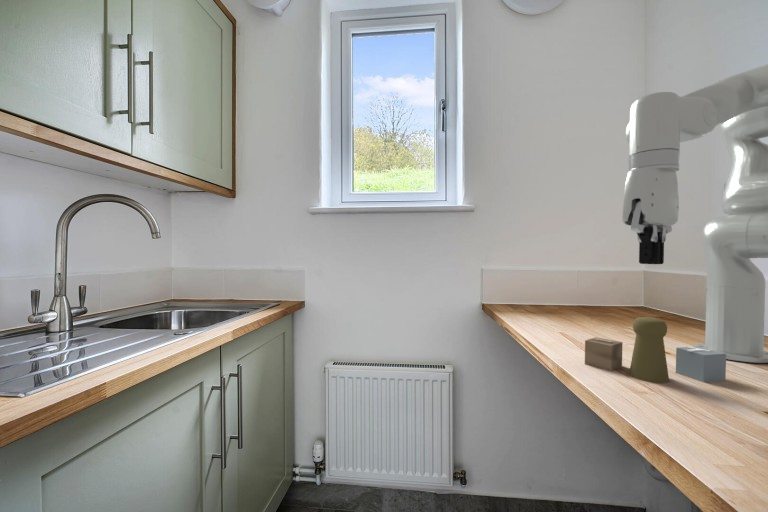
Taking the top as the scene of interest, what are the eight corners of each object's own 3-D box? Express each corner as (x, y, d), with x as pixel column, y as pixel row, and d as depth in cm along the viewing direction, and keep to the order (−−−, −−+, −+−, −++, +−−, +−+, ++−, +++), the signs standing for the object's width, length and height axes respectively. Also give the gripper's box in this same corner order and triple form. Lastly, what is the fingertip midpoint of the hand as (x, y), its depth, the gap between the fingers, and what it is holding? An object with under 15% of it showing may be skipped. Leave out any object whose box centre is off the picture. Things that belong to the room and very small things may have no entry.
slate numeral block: (696, 371, 71) (697, 345, 71) (725, 381, 66) (726, 352, 66) (674, 373, 70) (675, 346, 70) (702, 382, 65) (702, 353, 65)
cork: (676, 383, 64) (678, 321, 64) (638, 381, 65) (639, 320, 65) (658, 372, 70) (659, 315, 70) (623, 370, 71) (624, 314, 71)
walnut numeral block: (595, 360, 78) (596, 336, 78) (621, 366, 74) (622, 341, 74) (584, 364, 75) (585, 339, 75) (611, 371, 71) (611, 344, 71)
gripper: (654, 172, 73) (652, 262, 74) (607, 164, 67) (605, 263, 67) (699, 164, 67) (696, 264, 67) (652, 154, 60) (649, 265, 60)
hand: (651, 263), depth 67 cm, fingers closed
